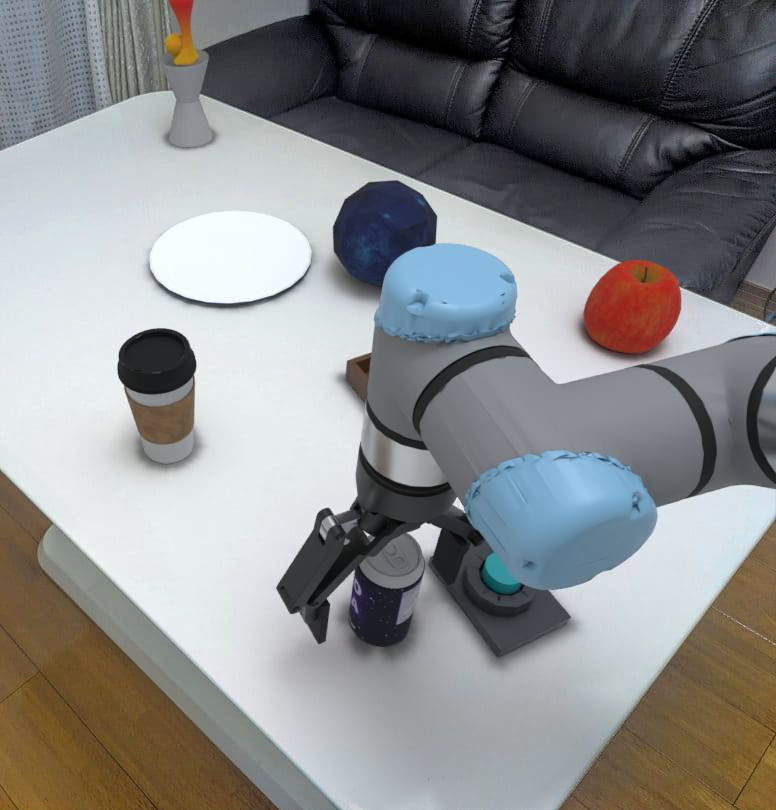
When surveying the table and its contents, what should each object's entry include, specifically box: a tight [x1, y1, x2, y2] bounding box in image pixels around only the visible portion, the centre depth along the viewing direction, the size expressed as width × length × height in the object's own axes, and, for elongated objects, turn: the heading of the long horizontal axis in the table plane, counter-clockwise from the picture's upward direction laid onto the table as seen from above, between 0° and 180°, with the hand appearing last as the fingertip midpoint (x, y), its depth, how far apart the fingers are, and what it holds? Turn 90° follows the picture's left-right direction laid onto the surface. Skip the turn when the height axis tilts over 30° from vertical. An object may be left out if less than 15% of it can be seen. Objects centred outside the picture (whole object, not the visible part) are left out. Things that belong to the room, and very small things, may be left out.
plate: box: [148, 210, 313, 305], centre depth 113 cm, size 25×25×1 cm
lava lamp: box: [158, 0, 214, 148], centre depth 131 cm, size 9×9×35 cm
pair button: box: [482, 552, 522, 594], centre depth 69 cm, size 4×4×2 cm
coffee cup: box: [116, 327, 197, 465], centre depth 81 cm, size 8×8×15 cm
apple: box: [582, 259, 682, 354], centre depth 93 cm, size 11×11×11 cm
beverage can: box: [348, 532, 426, 648], centre depth 65 cm, size 6×6×12 cm
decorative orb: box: [332, 179, 438, 286], centre depth 104 cm, size 14×15×15 cm
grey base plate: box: [428, 540, 572, 658], centre depth 70 cm, size 11×8×3 cm
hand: (380, 600), depth 67 cm, fingers open, 13 cm apart
